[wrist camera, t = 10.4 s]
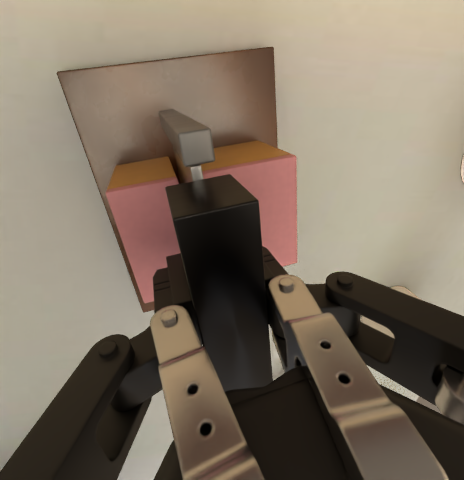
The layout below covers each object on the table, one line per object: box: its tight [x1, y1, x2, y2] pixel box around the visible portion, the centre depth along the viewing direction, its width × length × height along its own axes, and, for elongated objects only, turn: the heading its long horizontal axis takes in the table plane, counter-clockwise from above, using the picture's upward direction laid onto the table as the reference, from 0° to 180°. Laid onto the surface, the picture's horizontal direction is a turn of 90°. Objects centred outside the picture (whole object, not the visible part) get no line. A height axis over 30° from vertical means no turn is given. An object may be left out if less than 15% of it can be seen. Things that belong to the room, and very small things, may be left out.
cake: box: [106, 140, 297, 303], centre depth 19 cm, size 10×7×6 cm
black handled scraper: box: [165, 147, 273, 392], centre depth 14 cm, size 2×10×11 cm, turn 7°
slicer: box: [57, 47, 277, 312], centre depth 17 cm, size 13×18×13 cm
